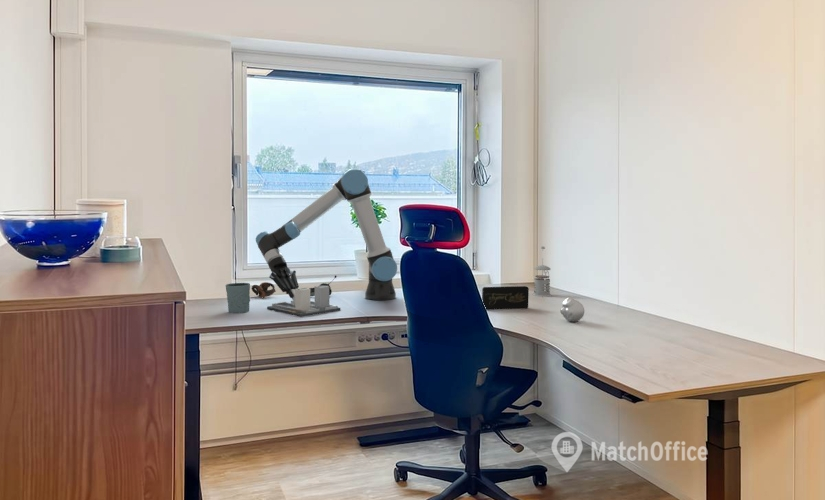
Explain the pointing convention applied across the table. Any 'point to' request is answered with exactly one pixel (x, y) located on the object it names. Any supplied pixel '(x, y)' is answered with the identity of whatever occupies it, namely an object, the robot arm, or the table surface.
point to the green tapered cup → (238, 297)
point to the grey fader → (322, 296)
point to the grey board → (290, 309)
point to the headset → (312, 290)
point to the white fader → (302, 299)
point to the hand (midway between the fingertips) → (298, 302)
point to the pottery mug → (263, 289)
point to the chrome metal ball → (572, 309)
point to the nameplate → (505, 297)
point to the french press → (542, 282)
